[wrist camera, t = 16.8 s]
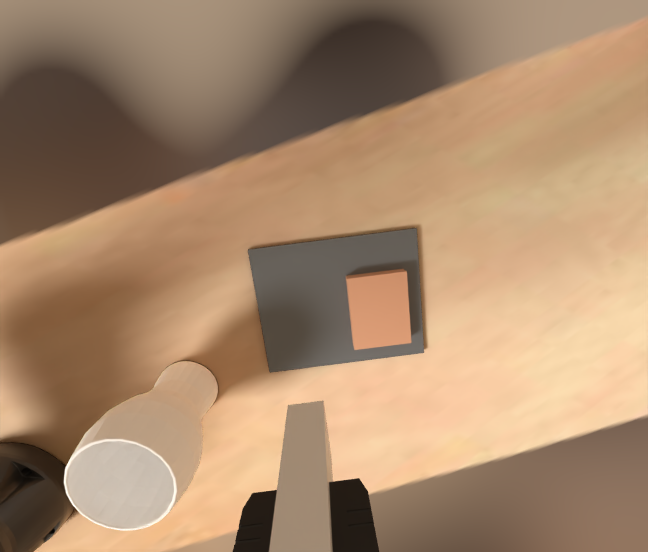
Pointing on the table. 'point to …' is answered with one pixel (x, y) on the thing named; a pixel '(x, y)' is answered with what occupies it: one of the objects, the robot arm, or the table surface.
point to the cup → (142, 451)
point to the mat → (328, 297)
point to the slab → (379, 308)
